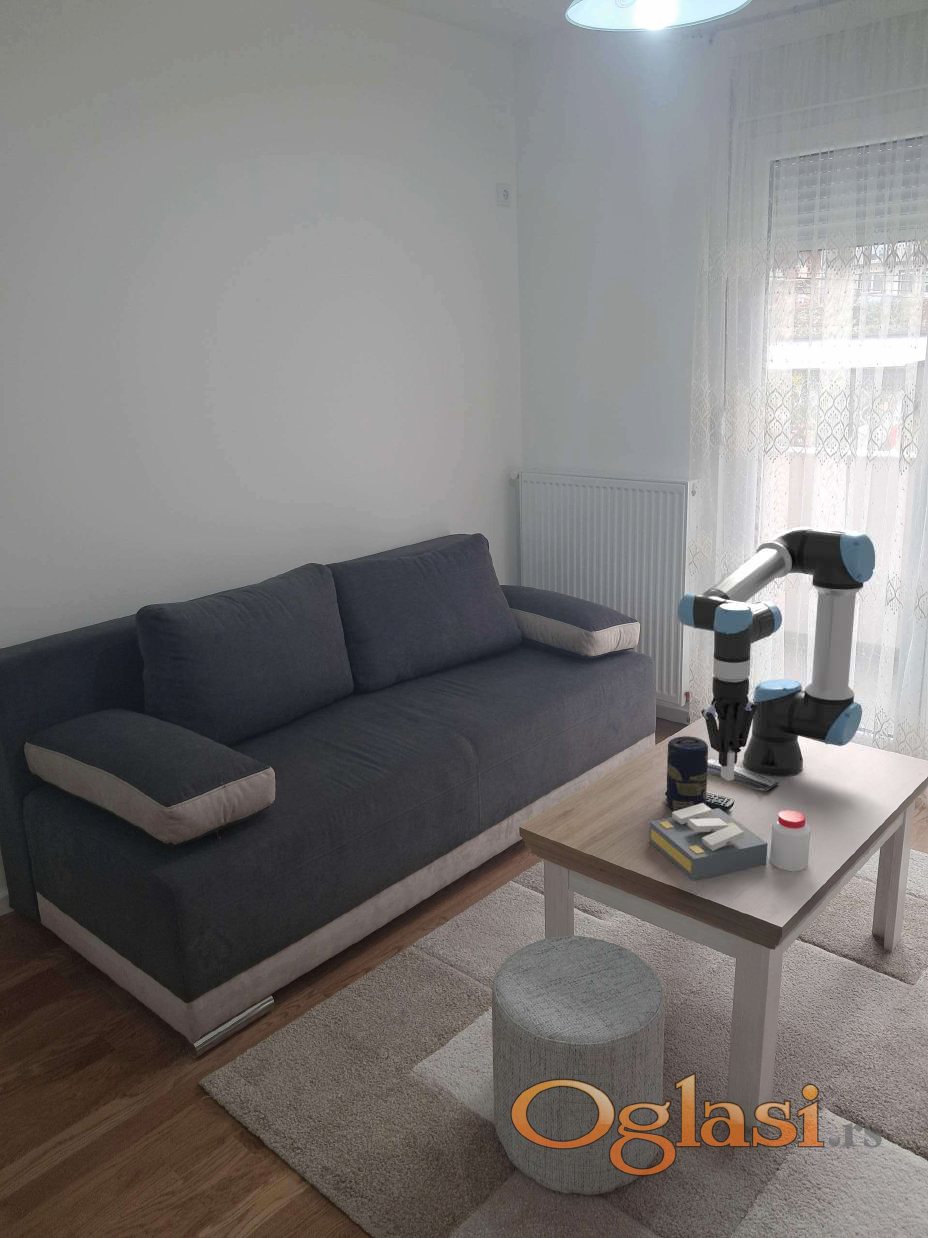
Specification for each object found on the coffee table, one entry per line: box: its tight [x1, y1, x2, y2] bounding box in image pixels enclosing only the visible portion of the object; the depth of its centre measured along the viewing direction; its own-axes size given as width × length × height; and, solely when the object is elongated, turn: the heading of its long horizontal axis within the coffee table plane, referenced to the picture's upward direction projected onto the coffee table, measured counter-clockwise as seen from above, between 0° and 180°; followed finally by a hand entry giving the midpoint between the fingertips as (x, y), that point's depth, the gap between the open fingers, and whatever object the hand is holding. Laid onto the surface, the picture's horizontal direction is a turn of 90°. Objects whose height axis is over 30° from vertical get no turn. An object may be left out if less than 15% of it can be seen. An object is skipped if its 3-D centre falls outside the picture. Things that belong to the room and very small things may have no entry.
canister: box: [665, 735, 709, 811], centre depth 226 cm, size 10×10×18 cm
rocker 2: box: [687, 818, 729, 833], centre depth 205 cm, size 8×4×2 cm, turn 110°
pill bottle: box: [769, 809, 811, 872], centre depth 201 cm, size 8×8×11 cm
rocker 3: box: [702, 824, 744, 851], centre depth 200 cm, size 8×4×2 cm, turn 109°
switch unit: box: [649, 807, 769, 881], centre depth 206 cm, size 18×18×5 cm
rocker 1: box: [671, 803, 713, 824], centre depth 211 cm, size 8×4×2 cm, turn 109°
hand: (727, 777), depth 206 cm, fingers closed
